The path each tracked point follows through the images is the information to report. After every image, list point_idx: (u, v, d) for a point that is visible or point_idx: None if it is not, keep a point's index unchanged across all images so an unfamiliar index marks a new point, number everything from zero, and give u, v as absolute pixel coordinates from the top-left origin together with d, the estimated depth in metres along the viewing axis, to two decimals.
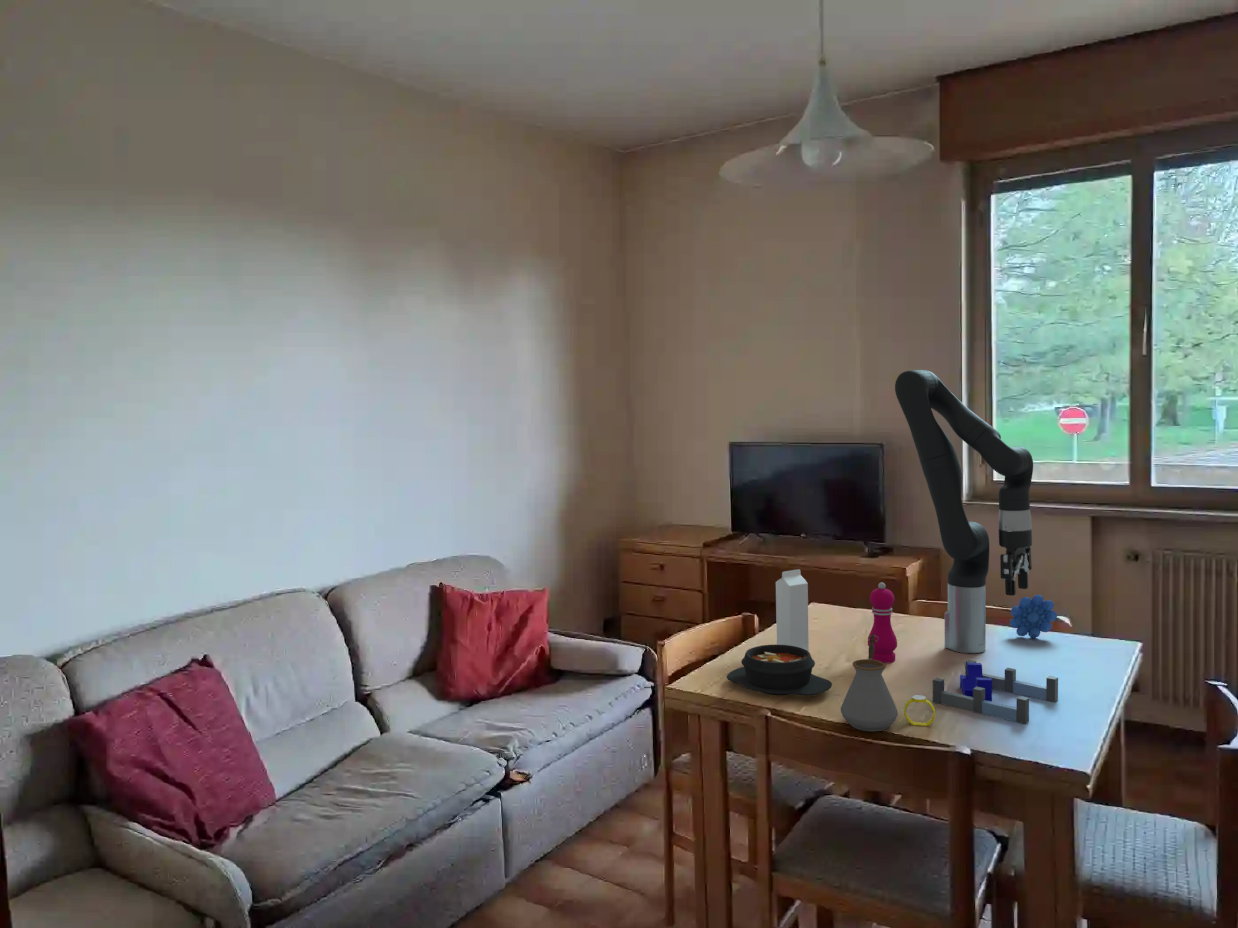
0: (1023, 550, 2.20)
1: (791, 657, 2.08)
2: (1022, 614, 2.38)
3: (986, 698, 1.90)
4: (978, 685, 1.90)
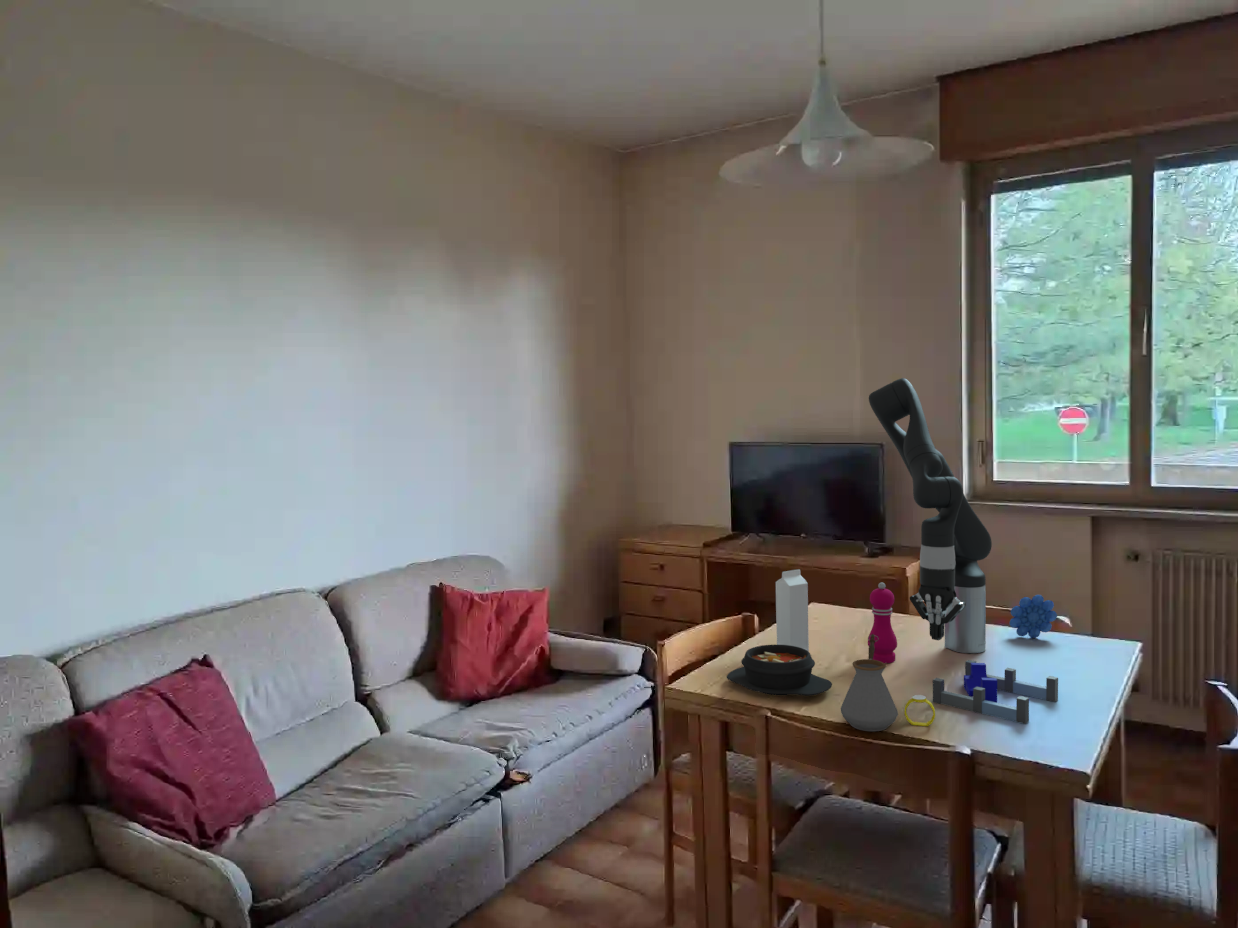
0: None
1: (791, 657, 2.08)
2: (1022, 614, 2.38)
3: (991, 698, 1.90)
4: (983, 685, 1.90)
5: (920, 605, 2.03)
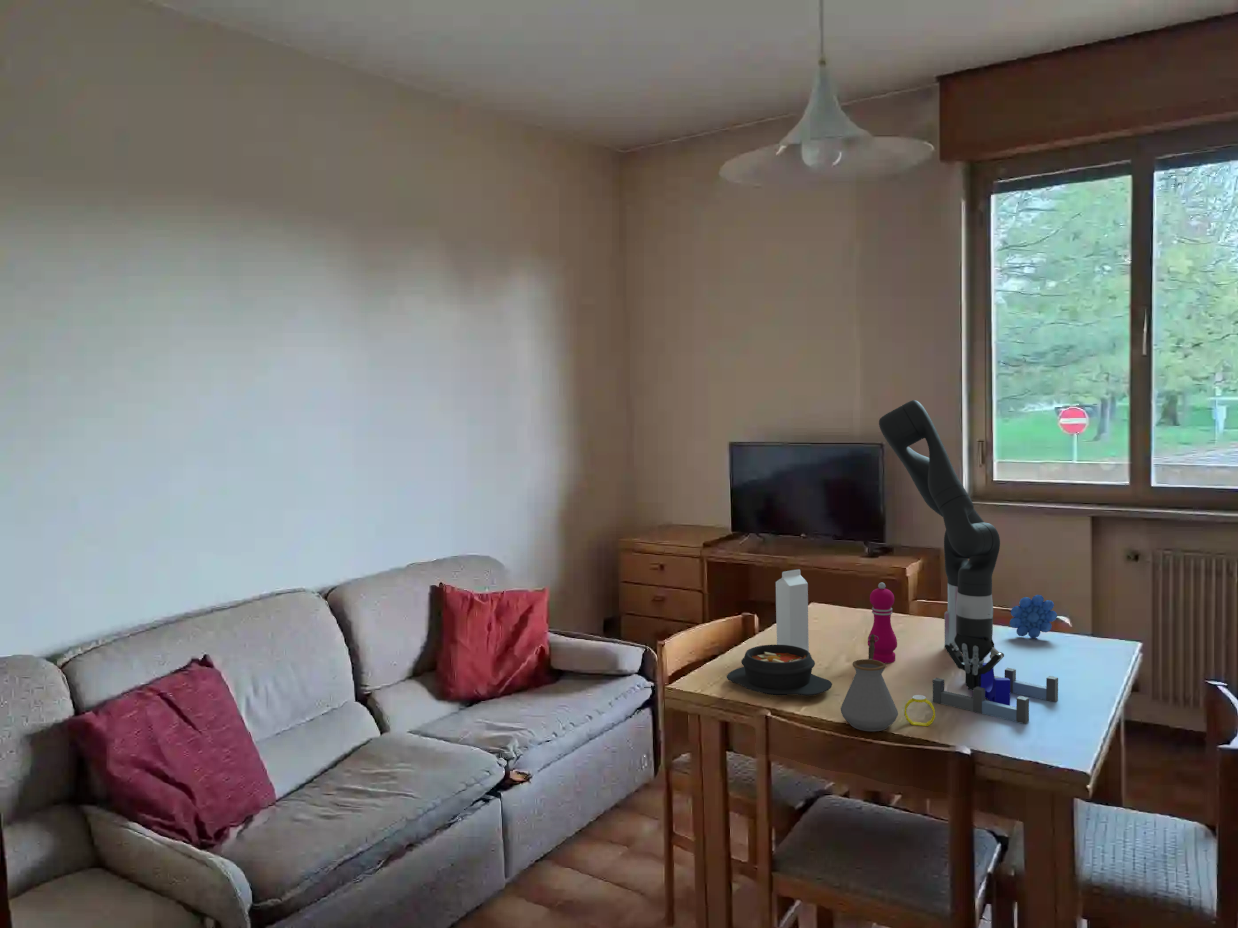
0: None
1: (791, 657, 2.08)
2: (1022, 614, 2.38)
3: (1004, 698, 1.89)
4: (996, 685, 1.89)
5: (956, 654, 1.98)
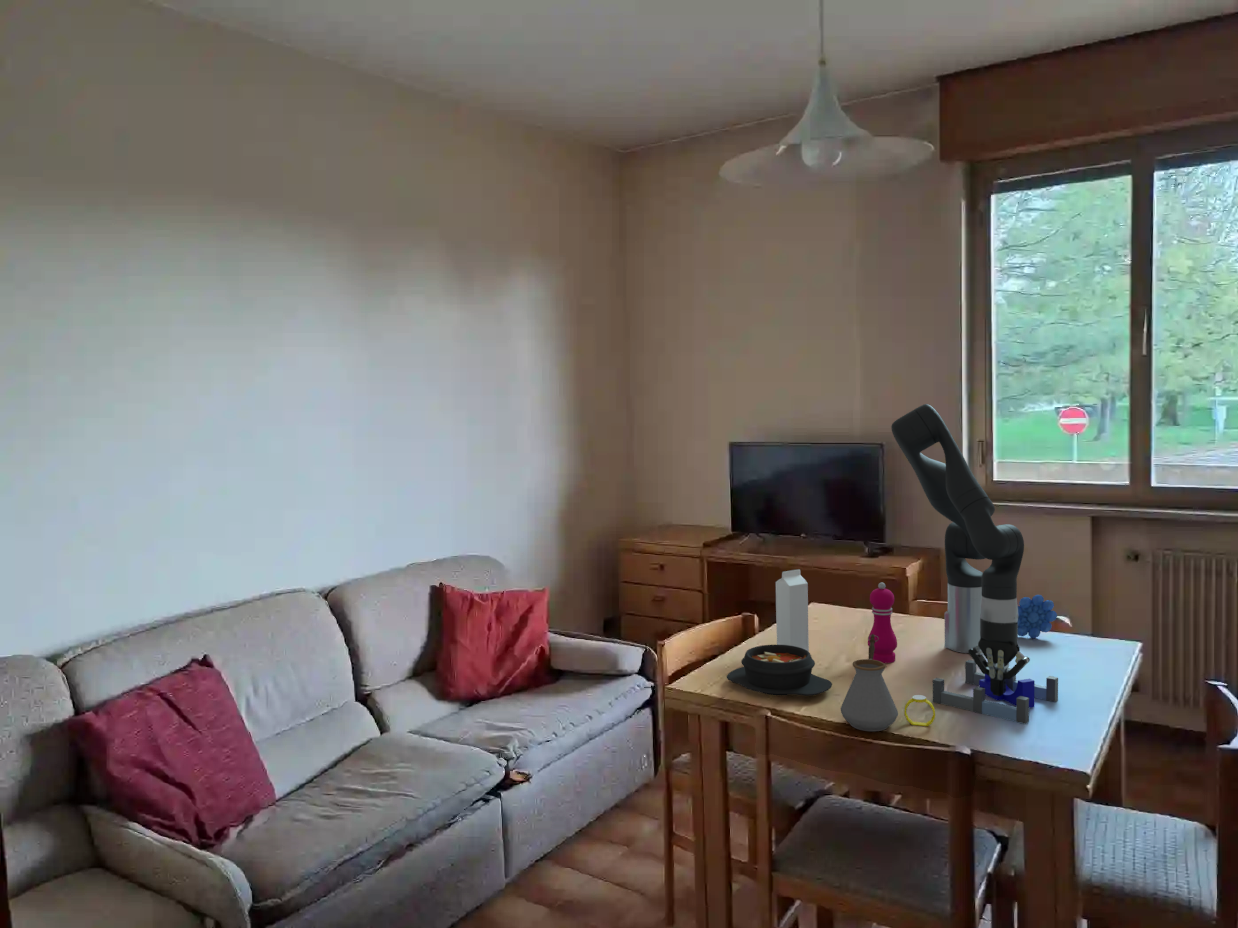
0: None
1: (791, 657, 2.08)
2: (1022, 614, 2.38)
3: (1030, 699, 1.89)
4: (1023, 688, 1.88)
5: (980, 659, 1.94)
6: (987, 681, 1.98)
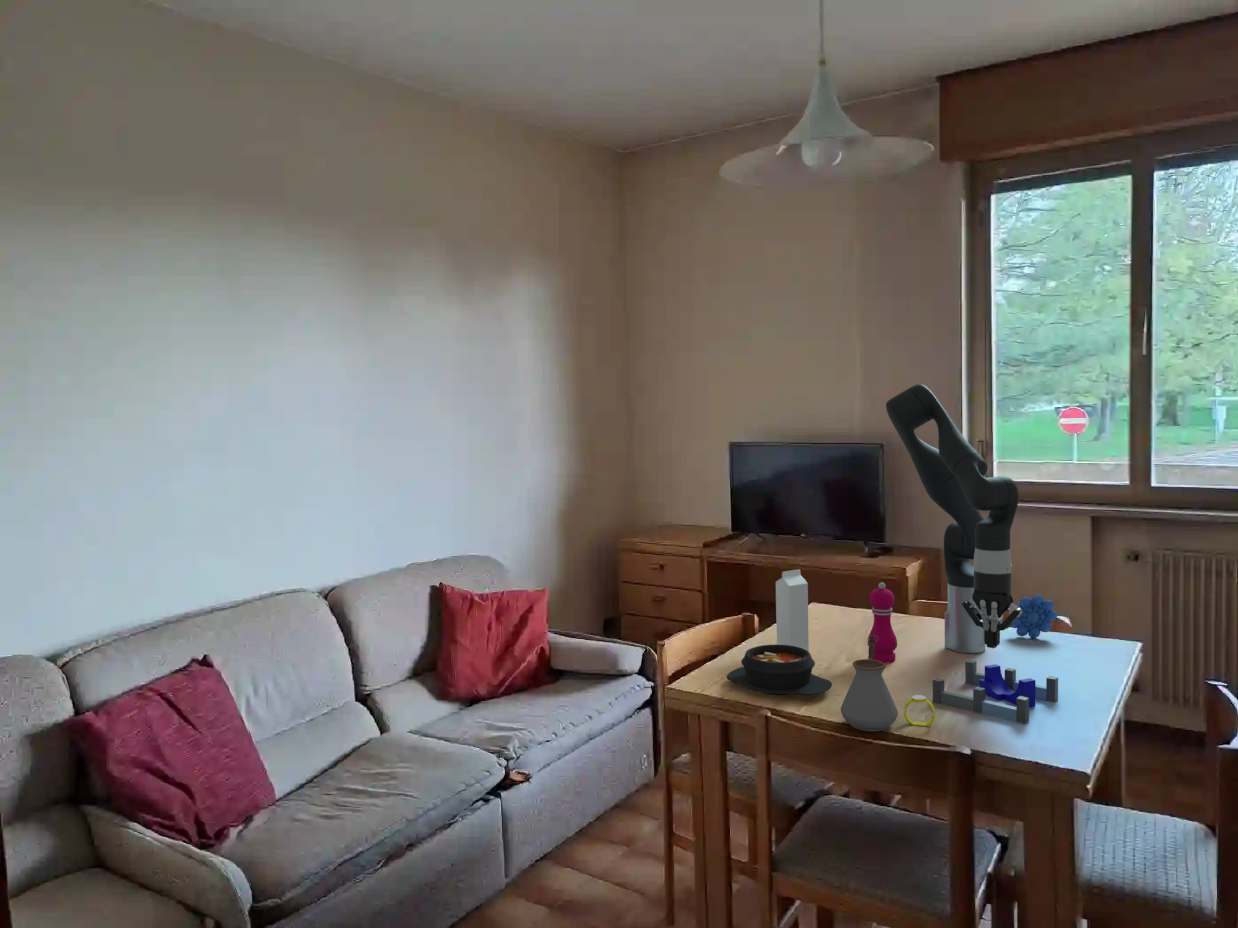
0: None
1: (791, 657, 2.08)
2: (1022, 614, 2.38)
3: (1031, 699, 1.89)
4: (1025, 687, 1.88)
5: (974, 611, 1.94)
6: (987, 681, 1.98)
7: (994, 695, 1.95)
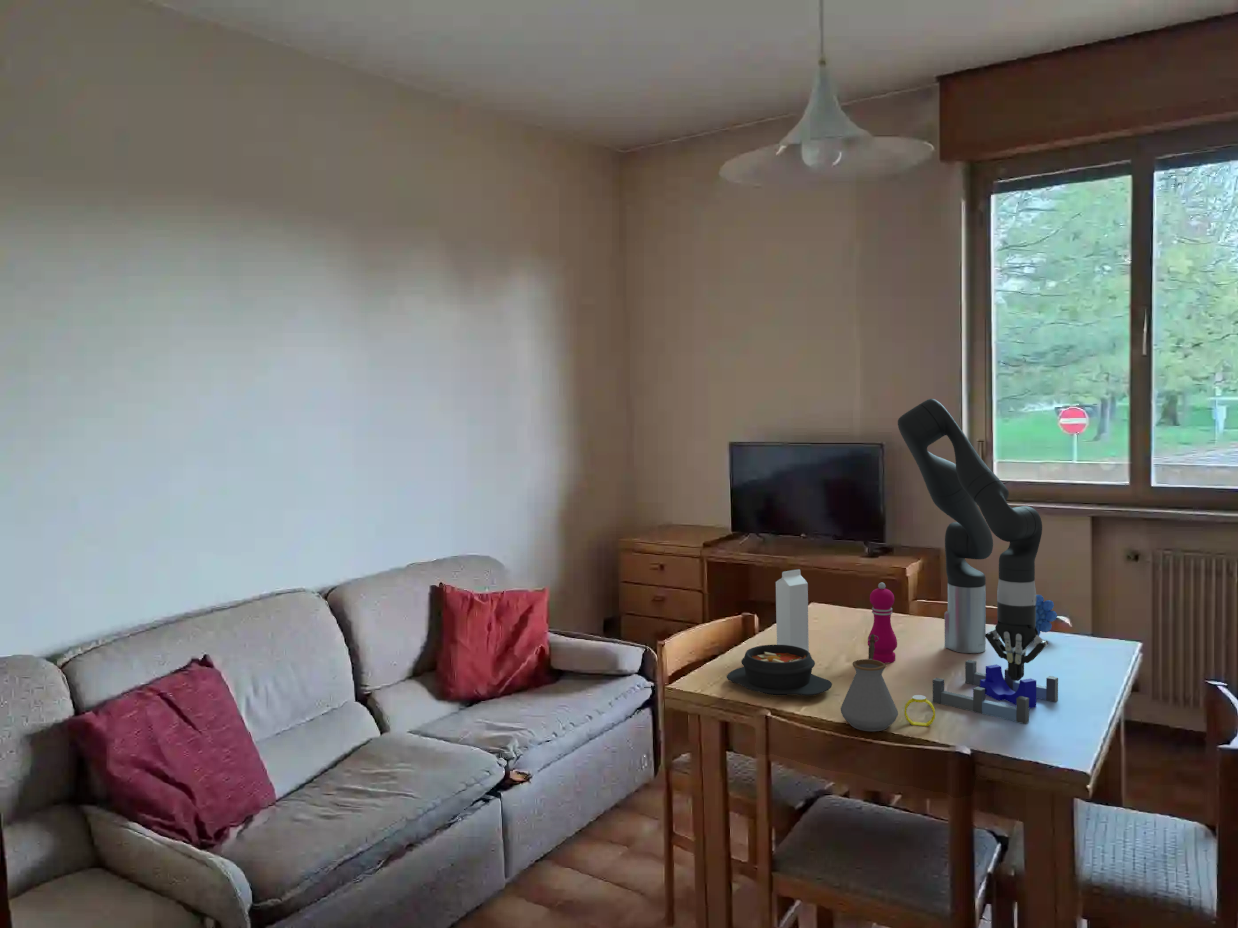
0: None
1: (791, 657, 2.08)
2: None
3: (1031, 699, 1.89)
4: (1025, 687, 1.88)
5: (997, 643, 1.91)
6: (988, 681, 1.98)
7: (995, 695, 1.94)
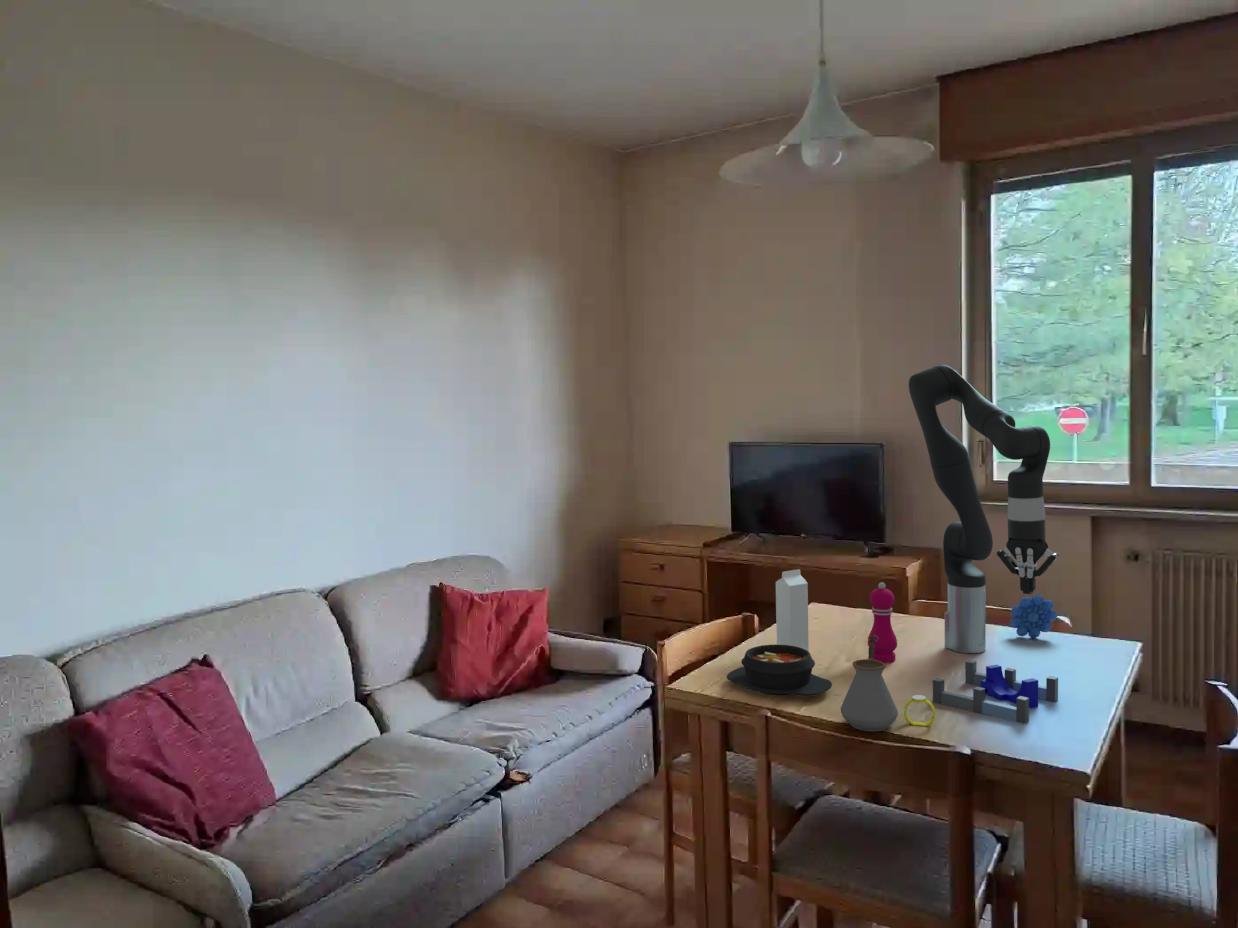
0: None
1: (791, 657, 2.08)
2: (1022, 614, 2.38)
3: (1034, 699, 1.89)
4: (1028, 687, 1.88)
5: (1008, 559, 1.98)
6: (989, 681, 1.98)
7: (996, 696, 1.94)
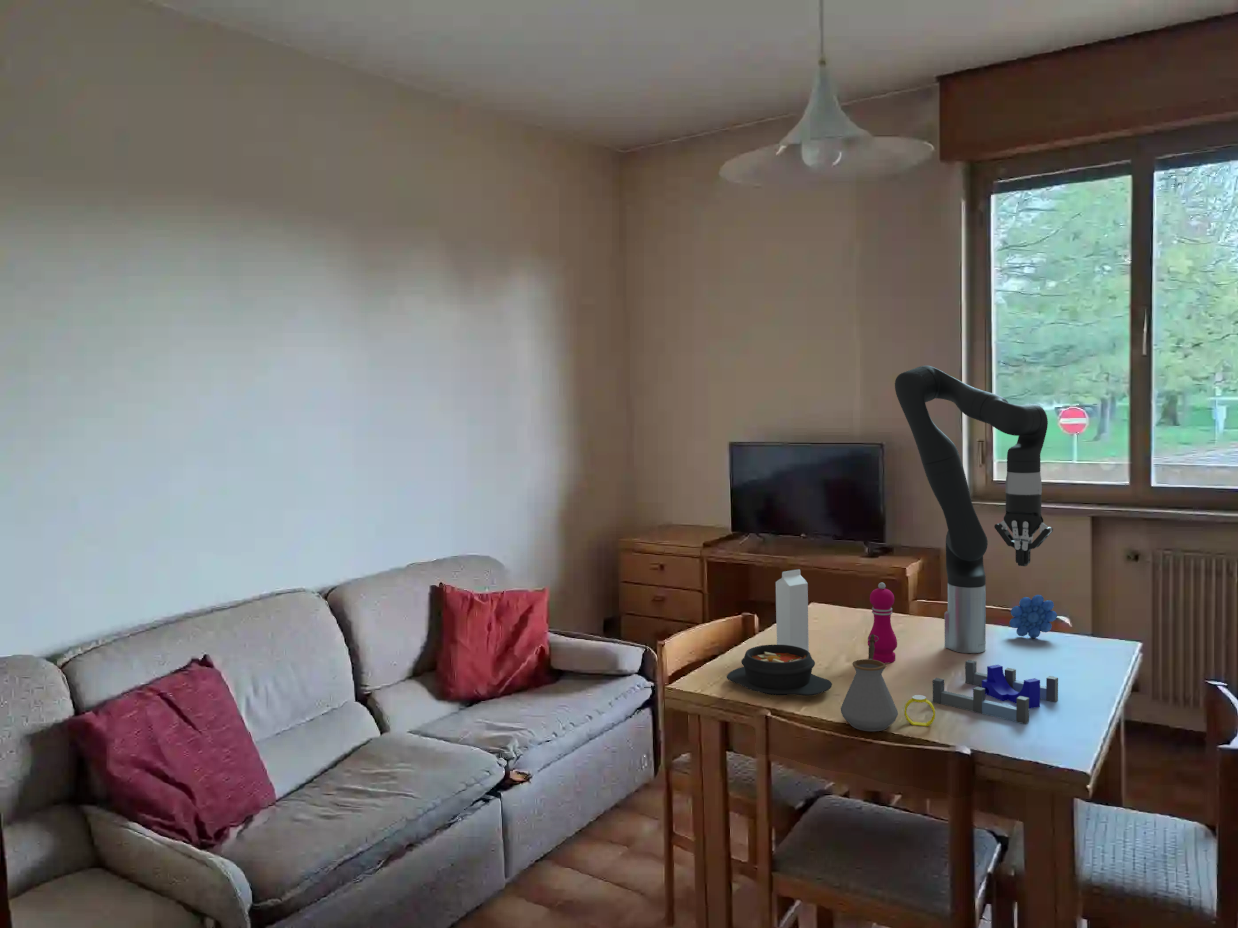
0: None
1: (791, 657, 2.08)
2: (1022, 614, 2.38)
3: (1035, 699, 1.89)
4: (1030, 687, 1.88)
5: (1005, 533, 2.06)
6: (990, 681, 1.97)
7: (998, 696, 1.94)
